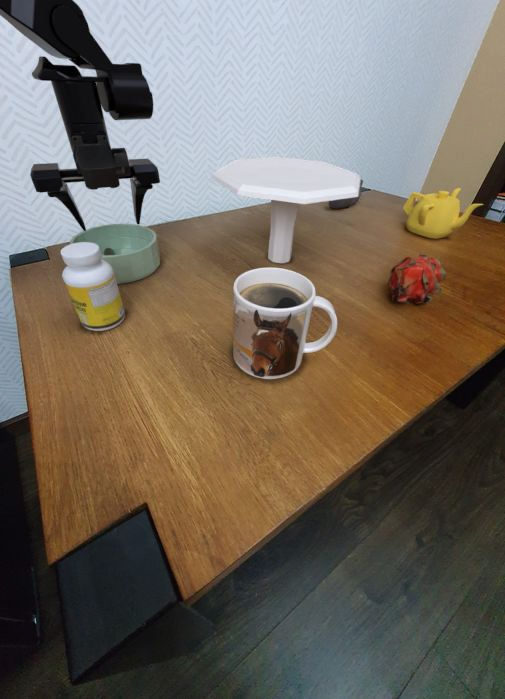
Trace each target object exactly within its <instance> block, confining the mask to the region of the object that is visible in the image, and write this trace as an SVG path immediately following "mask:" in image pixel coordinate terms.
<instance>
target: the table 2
mask: <svg viewBox="0 0 505 699" xmlns="http://www.w3.org/2000/svg"><path fill="white" fill-rule="evenodd" d="M210 179H211V180H213V181H215V182H216V183H217V184H219V185H221V186H222V187H224V188H225V189H227V190H228V191H230V192H232V193H233V194H234V195H236V196H241V197H247V198H256V199H262V200H270V230H269V231H270V232H269V240H268V253H267V259H268V260H269V261H270V262H272V263H277V264H286V263H290V261H291V258H292V252H293V251H292V250H293V246H294V245H293V244H294V236H295V226H296V220H297V216H298V212H299V207H300V205H308V204H317V203H325V202H329V201H331V200H338V199H345V198H353V197H358V195H359V188H360V182H361V180H362V179H361V176H360V175H359V174H358V173H357V172H355V171H352V170H349V169H346V168H344V167H340V166H338V165H335V164H332V163H329V162H326V161H323V160H322V161H321V160H312V159H303V158H293V157H283V156H267V157H266V156H265V157H253V158H252V157H251V158H237V159H235V160H232V161H231V162H229V163H227V164H226V165H224V166H222V167H220V168H219V169H217V170H215V171H214V172H213V173H212V174H211V176H210ZM360 179H361V180H360Z"/></svg>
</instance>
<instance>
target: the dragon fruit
mask: <svg viewBox="0 0 505 699" xmlns="http://www.w3.org/2000/svg"><path fill="white" fill-rule="evenodd" d="M446 278H447V271H446V270H445V268H444V266H443V265H442V263H441V260H440V259H439V258H436V257H427V255H426V254H424V253H420V254H419V255H418V256H417V257H416V258H413V257H411V256H406V257H404V258H402V259H401V260H400V261H399V262H398V263H397V264H396V265H394V266H393V267H392V269H391V270H390V272H389V277H388V281H387V286H389V290H390V293H391V294H392V295H391V301H392V302H395V301H397V302H398V303H403V304H408V303H410V302H411V300H413V302H414V303H415V304H427V303H429V302H431V301H433V300H434V298H433V297H432V296H429V295H428V294H431V295H439V294H441V293H442V291H443V289H442V288H441V285H440V283H442V282H443V281H444V280H445V279H446Z"/></svg>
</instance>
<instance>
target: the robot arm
mask: <svg viewBox="0 0 505 699" xmlns="http://www.w3.org/2000/svg"><path fill="white" fill-rule="evenodd" d="M0 17H1V18H3V19H4V20H5V21H7V23H9V24H10V25H11V26H12V27H14V28H15V29H16V30H17V31H18V32H19V33H21V34H22V35H23V36H24V37H26V38H27V39H28V40H29V41H31V43H33V44H35V45H36V46H38V48H40V49H42V51H44V52H45V53H47V54H48V55H50V56H52V57H54V58H57V59H60V60H61V59H63V60H68V61H70V62H71V63H72V64H74V65H71V64H70V65H69V64H53V63H52V62H51V61H50V59H48V57H46V56H41V55H40V56H38V61H37V64H36V66H35V68H34V70H33V71H32V72H31V76H32V78H33V79H34V80H37V81H42V82H43V81H44V82H50V83H51V86H52V90H53V92H54V96H55V99H56V102H57V106H58V109H59V112H60V116H61V119H62V123H63V127H64V129H65V132H66V135H67V139H68V142H69V146H70V149H71V152H72V158H73V160H74V164H75V167H76V168H62V169H61V168H60V165H59V163H58V162H50V163H49V162H46V163H34V164H33V165H32V166H31V168H30V174H29V176H30V178H31V182H32V184H33V186H34V189H35V192H36V193H41V194H42V193H47V197H49V198H56V199H57V200H59V201H60V203H62V204H63V205H64V206H65V208H66V209H67V210H68V211H69V213H70V214H71V215H72V217H73V219H75V221H76V222H77V224H78V225H79V226H80V228H81V230H82V231H86V230H87V228H86V225H85V222H84V219H83V216H82V214H81V212H80V210H79V207H78V205H77V203H76V200H75V198H74V196H73V193H72V192H71V189H70V187H69V185H68V183H69V184H70V183H83V182H84V185H85V187H86V188H87V189H88V190H98V189H104V188H110V189H117V188H119V187H120V185H121V183H120V180H126V179H127V180H128V179H129V184H130V189H131V190H130V191H131V198H132V199H131V200H132V207H133V214H134V218H135V223H136V225H141V224H140V223H141V217H142V208H143V203H144V198H145V195H146V193H147V191H148V190H152V189H153V188H154V184H155V185H156V184H160V183H161V179H160V174H159V173H160V171H159V169H158V167H157V165H155V164H154V163H153V162H152V160H151V159H150V158H130V159H129V157H128V152H127V150H126V148H125V147H113V148H112V146H111V142H110V138H109V134H108V129H107V124H106V119H105V116H104V112H105V113H109V116H110V117H111V118H112V119H113V120H114V121H132V120H134V121H135V120H149V119H151V118H152V117H153V114H154V98H153V93H152V91H151V89H150V85H149V82H148V80H147V78H146V77H145V74H143V69H142V64H141V63H138V62H125V63H122V64H121V63H113V62H112V61H111V60H110V58H109V56H108V55H107V54H106V52H105V50H103V48H102V47H101V45H100V44H99V43H98V42H97V40H96V38H95V37H94V36H93V34H92V33H91V30H90V27H89V23H88V20H87V19H86V16H85V14H84V11H83V10H82V8H81V7H80V5H79V4H77V2H75V0H0ZM79 69H82V70H92V71H95V73H96V76H95V75H93V76H92V75H82V73H81V71H80V70H79ZM103 111H104V112H103Z"/></svg>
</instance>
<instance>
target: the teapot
mask: <svg viewBox="0 0 505 699" xmlns="http://www.w3.org/2000/svg"><path fill="white" fill-rule="evenodd" d="M461 190H462V188H461V187H457V188H455V189H453V191H452V192H451V194H450V191H448V190H438V192H437V193H436V192H433V193H432V192H431V193H427V194H423V193H420V192H417V191H413V192H411V193H410V195H409V196H408V198H407V200H406V202H405V203H404V205H403V206H402V209H403V210H404V211H405V213H406V215H407V218H406V221H405V225H406V229H407V231H409V232H411V233H413V234H416V235H419V236H422V237H425V238H427V239H428V238H429V239H441V238H445V237H447V236H449V235H450V234H451V233H453V231H455V230H456V229H459V228H461V227H462V226H463V225H464V224H465V223H466V222H467V221H468V219H469V217H470V216H471V214H472V213H473V211H474V210H475V209H477V208H479V207H481V206H483V205H484V203H472V204H470V205H469V206H468V207H467V208H466V209H465V211H464V212H463V213H462V215H461V216H460V212H461V210H460V208H461V201H460V199H459V198H457V196H458V194H459V193H460V192H461ZM416 200H419V201H418V202H417V203H416V204H415V202H416ZM414 204H415V205H414Z"/></svg>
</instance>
